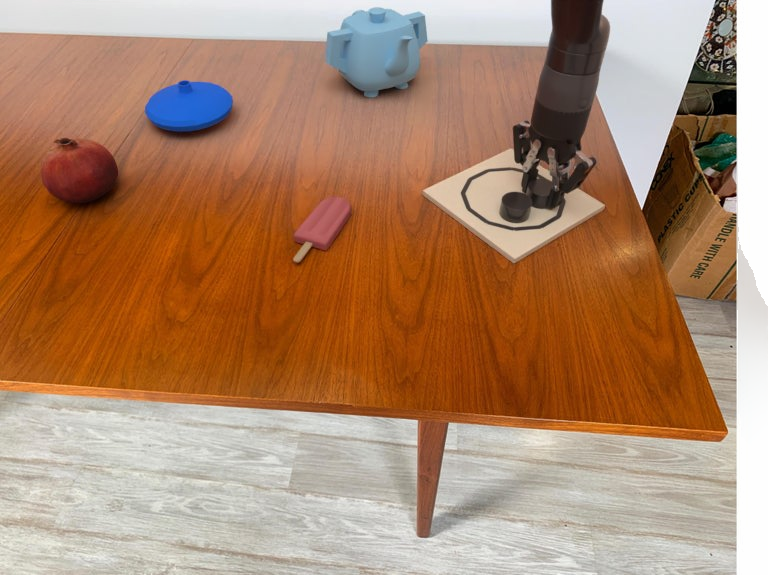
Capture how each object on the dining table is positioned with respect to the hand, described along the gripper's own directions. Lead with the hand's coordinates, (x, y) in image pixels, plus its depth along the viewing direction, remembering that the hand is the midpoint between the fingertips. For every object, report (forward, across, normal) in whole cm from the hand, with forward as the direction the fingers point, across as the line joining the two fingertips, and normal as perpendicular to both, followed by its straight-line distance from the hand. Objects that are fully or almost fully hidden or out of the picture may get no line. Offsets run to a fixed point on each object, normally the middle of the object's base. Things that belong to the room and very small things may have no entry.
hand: (539, 198), depth 90 cm
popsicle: (+1, +15, +31) cm, 34 cm away
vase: (+2, +57, +32) cm, 65 cm away
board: (+1, +3, +3) cm, 4 cm away
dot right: (0, 0, 0) cm, 0 cm away
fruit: (+2, +45, +55) cm, 71 cm away
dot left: (0, 0, +6) cm, 6 cm away
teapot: (+2, +46, -4) cm, 46 cm away
